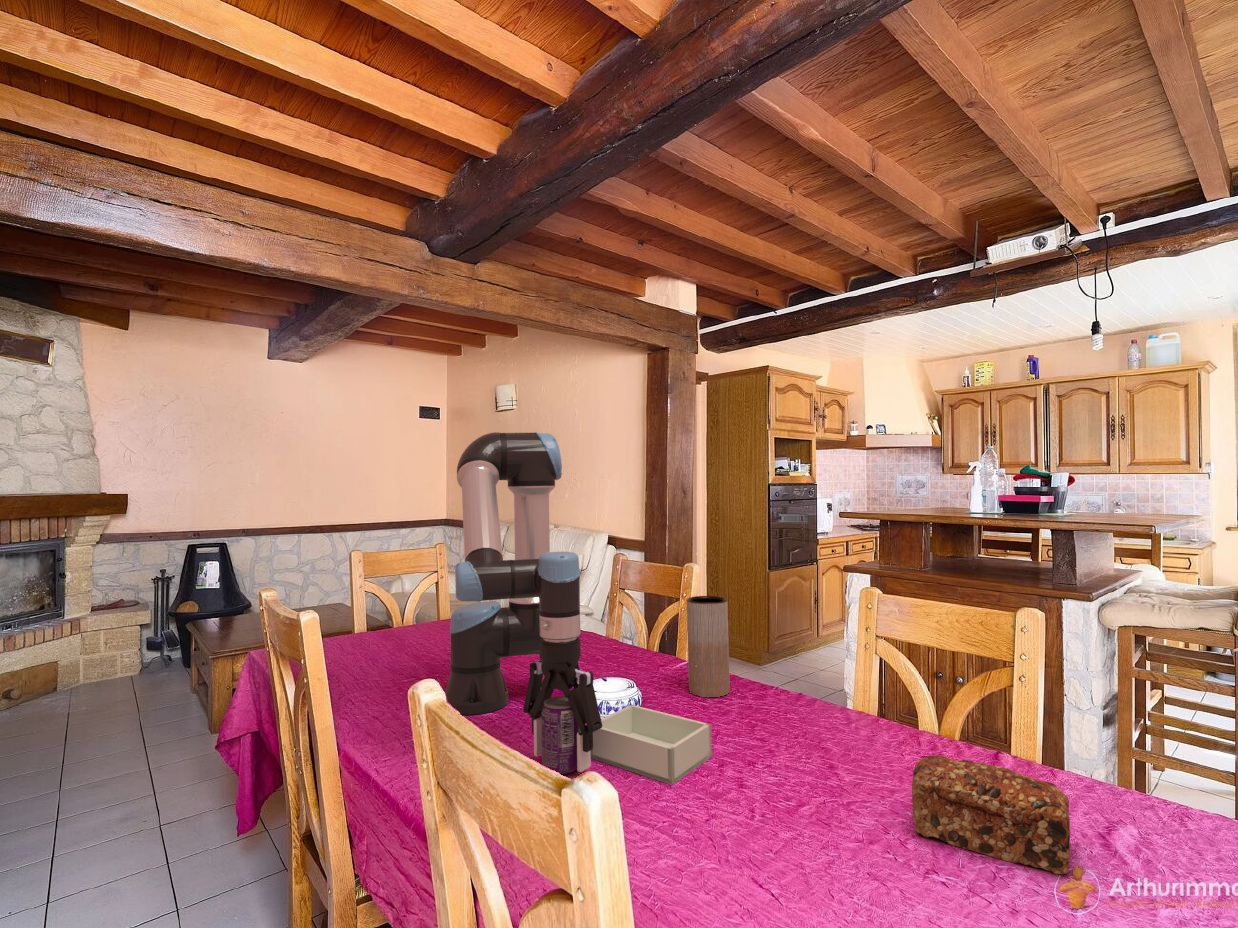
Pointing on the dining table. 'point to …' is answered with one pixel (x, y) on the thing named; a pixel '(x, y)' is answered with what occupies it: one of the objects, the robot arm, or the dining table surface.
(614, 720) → the tub
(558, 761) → the beverage can
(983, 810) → the bread
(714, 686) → the planter
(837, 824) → the dining table surface
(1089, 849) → the dining table surface
